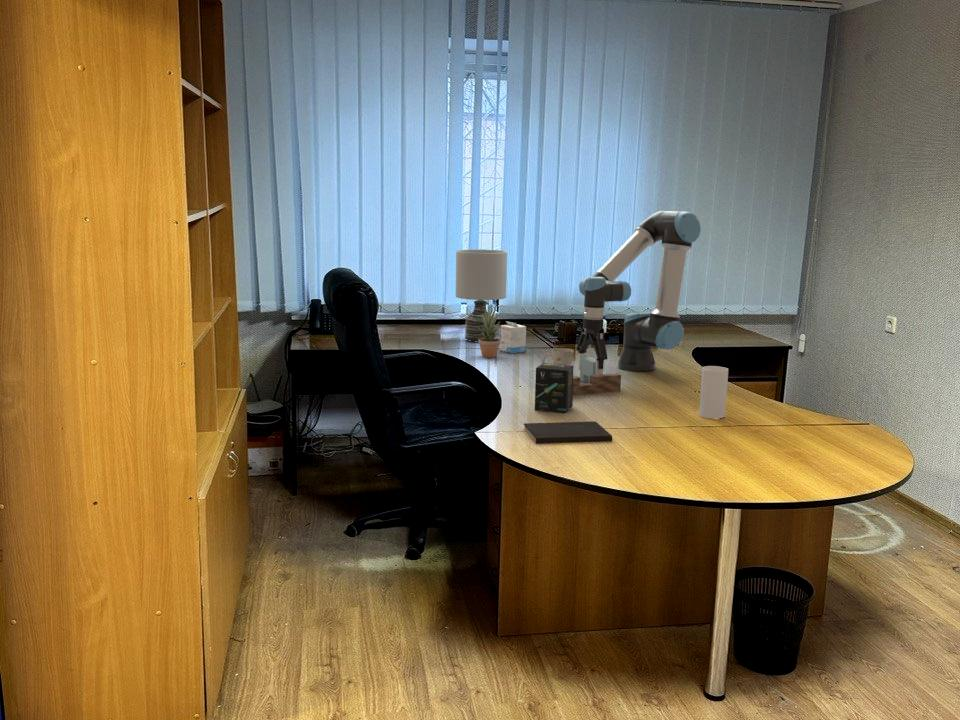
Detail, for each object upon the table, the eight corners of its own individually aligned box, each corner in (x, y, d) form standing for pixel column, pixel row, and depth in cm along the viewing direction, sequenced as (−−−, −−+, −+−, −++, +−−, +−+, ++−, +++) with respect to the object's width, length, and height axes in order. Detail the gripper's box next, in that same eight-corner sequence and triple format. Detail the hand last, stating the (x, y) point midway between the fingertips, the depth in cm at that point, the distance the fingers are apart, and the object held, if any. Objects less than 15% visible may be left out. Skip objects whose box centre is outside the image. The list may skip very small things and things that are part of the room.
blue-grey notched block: (589, 379, 342) (590, 356, 340) (601, 385, 333) (602, 361, 331) (579, 380, 340) (580, 357, 339) (592, 386, 331) (593, 362, 329)
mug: (571, 377, 345) (572, 352, 343) (539, 375, 347) (540, 350, 345) (573, 373, 353) (574, 348, 351) (542, 371, 355) (543, 347, 353)
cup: (710, 420, 285) (714, 371, 282) (693, 414, 292) (697, 367, 289) (730, 417, 289) (733, 369, 286) (712, 412, 296) (716, 365, 293)
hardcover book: (523, 430, 271) (523, 423, 271) (595, 428, 275) (595, 421, 275) (535, 445, 256) (536, 438, 255) (612, 443, 260) (612, 435, 259)
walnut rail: (616, 389, 326) (617, 373, 325) (620, 391, 324) (621, 375, 323) (547, 394, 316) (548, 377, 315) (551, 396, 314) (551, 379, 313)
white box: (526, 352, 396) (527, 322, 394) (511, 353, 392) (511, 323, 389) (514, 348, 403) (515, 319, 401) (499, 350, 399) (500, 321, 396)
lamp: (505, 345, 413) (507, 253, 404) (453, 343, 413) (455, 252, 405) (504, 336, 436) (506, 249, 428) (455, 335, 436) (457, 248, 428)
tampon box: (572, 407, 299) (574, 364, 296) (566, 413, 290) (567, 370, 287) (541, 404, 302) (542, 362, 299) (534, 410, 294) (535, 367, 291)
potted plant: (495, 353, 391) (497, 298, 386) (503, 357, 382) (504, 300, 377) (474, 354, 388) (475, 298, 383) (481, 358, 379) (482, 301, 374)
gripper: (569, 313, 342) (566, 367, 346) (600, 323, 319) (597, 380, 323) (586, 313, 344) (583, 366, 348) (618, 322, 322) (615, 379, 325)
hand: (590, 373), depth 336 cm, fingers open, 13 cm apart
